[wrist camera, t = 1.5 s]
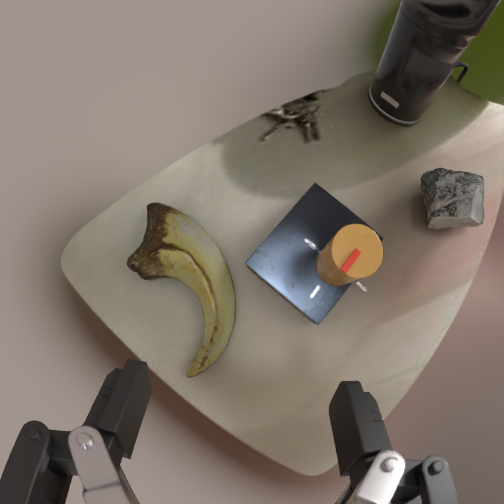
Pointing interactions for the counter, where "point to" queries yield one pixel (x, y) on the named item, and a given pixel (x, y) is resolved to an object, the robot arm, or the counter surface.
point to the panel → (304, 253)
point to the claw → (189, 273)
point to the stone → (453, 198)
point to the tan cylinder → (350, 255)
